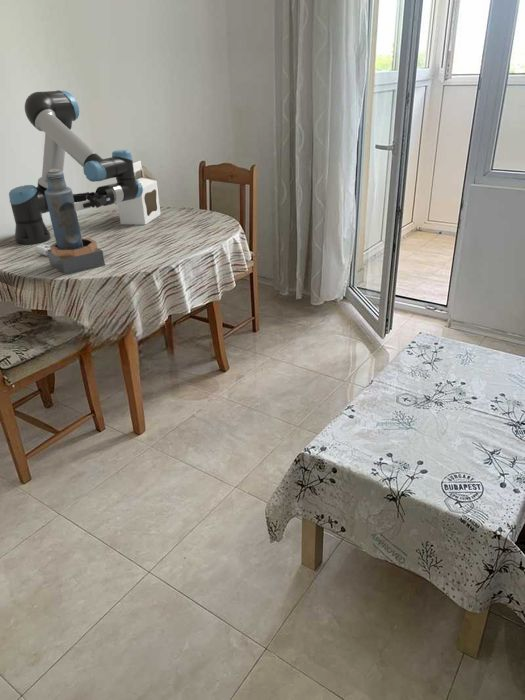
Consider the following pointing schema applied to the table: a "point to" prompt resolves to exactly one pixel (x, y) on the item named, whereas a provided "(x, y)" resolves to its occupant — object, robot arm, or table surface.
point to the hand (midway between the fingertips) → (63, 205)
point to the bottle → (62, 211)
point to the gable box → (141, 200)
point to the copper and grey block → (76, 257)
